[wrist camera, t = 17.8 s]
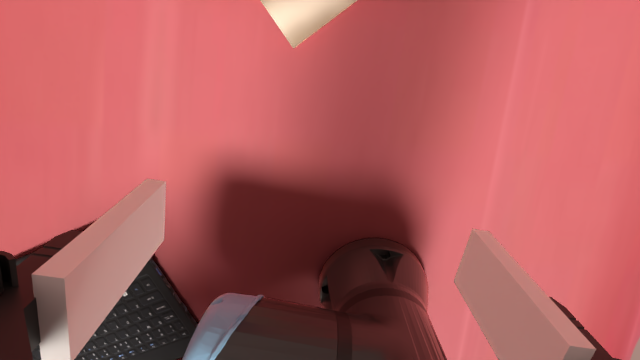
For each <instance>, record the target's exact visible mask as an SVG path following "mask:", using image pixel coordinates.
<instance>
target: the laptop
mask: <svg viewBox="0 0 640 360" xmlns="http://www.w3.org/2000/svg"><path fill="white" fill-rule="evenodd" d="M35 252H36V251H35ZM33 254H34V252H33V253H30V254H29V255H25V256H23V257H20V258H18V259H16V266H17V265H19V264H20V263H21V262H23V261H24V260H25V259H27V258H28V257H29V256H31V255H33ZM197 326H198V324H197V322H196V321H195V319H194V318H193V317H192V316H191V314H190V313H189V311H188V310H187V307H186V306H185V305H184V303H183V302H181V300H180V298H179V297H178V295H177V294H176V293H175V291H174V289H173V288H172V286H171V285H170V284H169V282H168V281H167V279H166V277H165V276H164V275H163V273H162V272H161V270H160V269H159V267H158V266H157V265H156V263H155V262H154V261H153V259H152V257H151V258H150V259H149V261H148V262H147V263H146V265H145V266H144V267H143V269H142V270H141V271H140V273H139V274H138V275H137V277H136V278H135V279H134V281H133V282H132V283H131V285H130V286H129V287H128V289H127V290H126V291H125V293H124V294H123V295H122V297H121V298H120V299H119V301H118V302H117V303H116V305H115V306H114V307H113V309H112V310H111V311H110V313H109V314H108V315H107V317H106V318H105V319H104V320H103V322H102V323H101V324H100V326H99V327H98V328H97V330H96V331H95V332H94V334H93V335H92V336H91V338H90V339H89V340H88V342H87V343H86V344H85V346H84V347H83V348H82V350H81V351H80V352H79V354H78V355H77V356H76V358H75V359H74V360H176V359H178V358H181V357H184V354H185V352H186V349H187V347H188V345H189V342H190V340H191V338H192V336H193V334H194V332H195V330H196V328H197ZM32 357H33V360H41V354H40V345H38V346H37V347H36V348H35V349H34V350H33V351H32Z"/></svg>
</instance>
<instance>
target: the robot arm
mask: <svg viewBox="0 0 640 360" xmlns="http://www.w3.org/2000/svg"><path fill="white" fill-rule="evenodd" d="M165 200H166V181H160V180H154V179H146V180H145V181H143V182H142V183H141V184H140V185H139V186H137V187H136V188H135V189H134V190H133V191H131V192H130V193H129V194H128V195H126V196H125V197H124V198H123V199H122V200H120V201H119V202H118V203H117V204H116V205H114V206H113V207H112V208H111V209H110V210H108V211H107V212H106V213H105V214H104V215H102V216H101V217H100V218H99V219H98V220H96V221H95V222H94V223H93V224H91V225H90V226H89V227H88V228H87V229H85V230H84V231H76V230H71V231H68V232H66V233H63V234H61V235H58V236H56V237H54V238H53V239H52V240H50V241H49V242H48V243H46V244H45V245H44V246H43V248H40V249H38V250H37V251H36V252H34V254H33V255H31V256H29V257H28V258H27V259H25V260H24V261H23V262H21V263H20V264H19V265H17V266H16V260H15V258H14V256H13V255H12V254H10V253H7V252H4V251H0V360H33V357H32V351H33V350H34V349H35V348H36V347H37V346H38V345H40V354H41V360H74V359H75V358H76V356H77V355H78V354H79V352H80V351H81V350H82V348H83V347H84V346H85V344H86V343H87V342H88V340H89V339H90V338H91V336H92V335H93V334H94V332H95V331H96V330H97V328H98V327H99V326H100V324H101V323H102V322H103V320H104V319H105V318H106V317H107V315H108V314H109V313H110V311H111V310H112V309H113V307H114V306H115V305H116V303H117V302H118V301H119V299H120V298H121V297H122V295H123V294H124V293H125V291H126V290H127V289H128V287H129V286H130V285H131V283H132V282H133V281H134V279H135V278H136V277H137V275H138V274H139V273H140V271H141V270H142V269H143V267H144V266H145V265H146V263H147V262H148V261H149V259H150V258H151V257H152V255H153V254H154V253H155V251H156V250H157V249H158V247H159V246H160V245H161V243H162V242H163V241H164V230H165ZM454 283H455V284H456V286H457V288H458V290H459V291H460V293H461V295H462V297H463V298H464V300H465V302H466V304H467V305H468V307H469V309H470V311H471V312H472V314H473V316H474V318H475V319H476V321H477V323H478V325H479V326H480V328H481V330H482V332H483V333H484V335H485V337H486V339H487V340H488V342H489V344H490V346H491V347H492V349H493V351H494V352H495V354H496V356H497V358H498V359H499V360H620V359H616V358H612V357H611V356H610V355H609V354H608V352H607V351H606V350H605V349H604V348H603V347H602V346H601V345H600V344H599V343H598V342H597V341H596V340H595V339H594V337H593V336H592V335H591V334H590V333H589V332H588V331H587V330H584V327H583V326H582V325H581V324H580V322H579V321H576V318H575V317H574V316H573V315H572V314H571V313H570V312H569V311H568V310H567V309H566V308H565V307H564V306H563V305H561V304H560V303H559V302H557V301H556V300H554V299H553V298H552V297H548V295H547V294H546V293H545V292H544V291H543V290H542V289H541V288H540V287H539V286H538V284H537V283H536V282H535V281H534V280H533V279H532V278H531V277H530V276H529V275H528V273H527V272H526V271H525V270H524V269H523V268H522V267H521V266H520V265H519V264H518V262H517V261H516V260H515V259H514V258H513V257H512V256H511V255H510V254H509V253H508V251H507V250H506V249H505V248H504V247H503V246H502V245H501V244H500V243H499V242H498V240H497V239H496V238H495V237H494V236H493V235H492V234H491V233H490V232H489V231H484V230H478V229H472V231H471V234H470V237H469V240H468V242H467V245H466V248H465V251H464V254H463V256H462V259H461V262H460V265H459V268H458V270H457V273H456V276H455V279H454ZM319 300H320V304H321V307H322V308H319V307H314V306H308V305H303V304H298V303H292V302H287V301H281V300H276V299H271V298H265V297H264V295H258V296H253V295H245V294H237V293H225V294H222V295H220V296H219V297H217V298H216V299H215V300H214V301H213V302H212V303H211V304H210V305H209V307H208V308H207V310H206V311H205V313H204V314H203V316H202V318H201V320H200V322H199V324H198V326H197V328H196V330H195V332H194V334H193V336H192V338H191V340H190V342H189V345H188V347H187V349H186V352H185V354H184V357H183V359H182V360H447V358H446V356H445V354H444V351H443V349H442V347H441V344H440V342H439V340H438V337H437V335H436V333H435V330H434V328H433V326H432V323H431V321H430V319H429V316H428V314H427V305H428V282H427V278H426V275H425V272H424V270H423V268H422V266H421V264H420V262H419V260H418V258H417V257H416V256H415V255H414V254H413V253H412V252H411V251H410V250H409V249H408V248H406V247H405V246H403V245H401V244H399V243H397V242H394V241H391V240H387V239H381V238H368V239H362V240H358V241H354V242H352V243H349V244H347V245H345V246H343V247H342V248H340V249H339V250H337V251H336V252H335V253H334V254H333V255H332V256H331V257H330V258H329V259H328V260H327V262H326V263H325V265H324V266H323V268H322V271H321V274H320V277H319Z"/></svg>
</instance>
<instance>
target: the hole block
mask: <svg viewBox="0 0 640 360" xmlns="http://www.w3.org/2000/svg"><path fill="white" fill-rule="evenodd" d="M260 1H261V2H262V4H263V5H264V6H265V8H266V9H267V11H268V12H269V14H270V15H271V17H272V18H273V20H274V21H275V22H276V24H277V25H278V27H279V28H280V30H281V31H282V33H283V34H284V36H285V37H286V38H287V40H288V41H289V43H290V44H291V46H292V47H293V48H295V47H297V46H298V45H299V44H301V43H302V42H303V41H305V40H306V39H307V38H308V37H310V36H311V35H312V34H314V33H315V32H316V31H318V30H319V29H320V28H322V27H323V26H324V25H326V24H327V23H328V22H330V21H331V20H332V19H334V18H335V17H336V16H338V15H339V14H340V13H341V12H343V11H344V10H345V9H347V8H348V7H349V6H351V5H352V4H353V3H355V2H356V1H357V0H260Z"/></svg>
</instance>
